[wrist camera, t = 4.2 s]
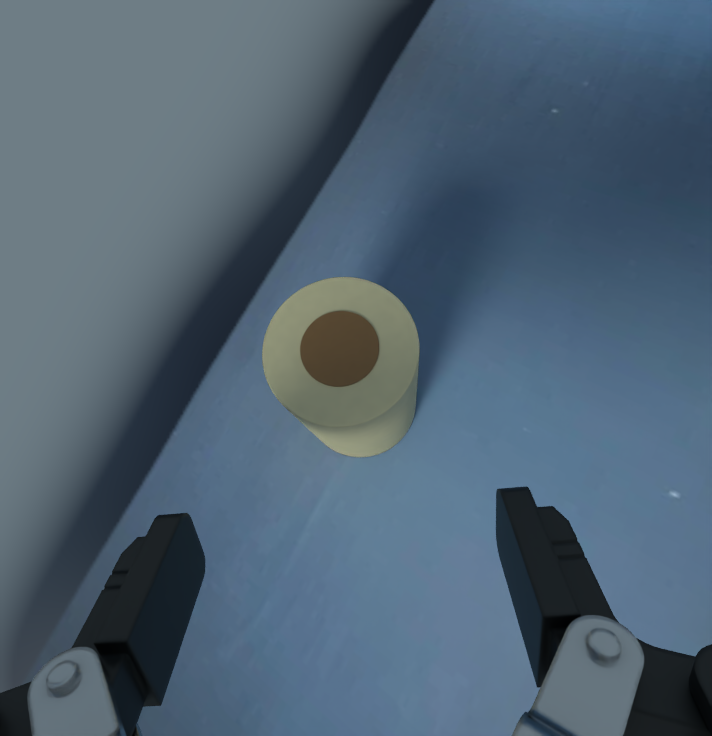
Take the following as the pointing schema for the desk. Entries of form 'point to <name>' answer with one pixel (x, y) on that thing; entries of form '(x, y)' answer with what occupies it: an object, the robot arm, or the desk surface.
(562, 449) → the desk surface
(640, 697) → the robot arm
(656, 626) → the desk surface
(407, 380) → the toilet paper roll
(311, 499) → the desk surface
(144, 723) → the desk surface
